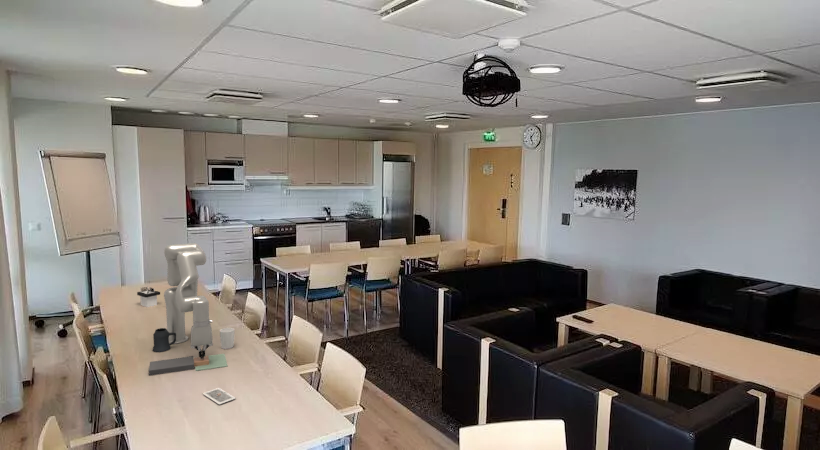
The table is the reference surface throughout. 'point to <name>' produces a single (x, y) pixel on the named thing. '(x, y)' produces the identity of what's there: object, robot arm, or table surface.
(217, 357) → the mat
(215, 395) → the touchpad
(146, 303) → the black-topped pedestal
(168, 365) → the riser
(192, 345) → the robot arm
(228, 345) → the white cup
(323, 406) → the table surface
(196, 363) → the terracotta tile
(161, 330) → the mug
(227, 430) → the table surface
